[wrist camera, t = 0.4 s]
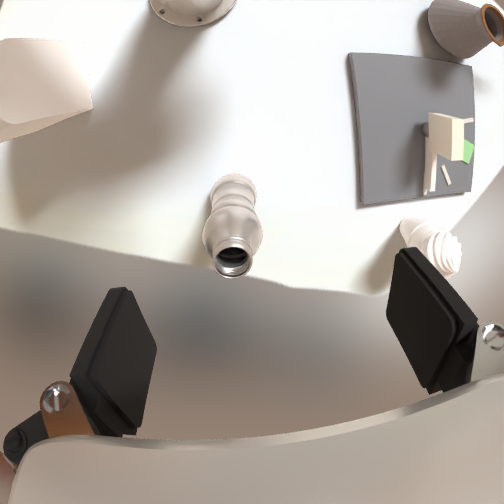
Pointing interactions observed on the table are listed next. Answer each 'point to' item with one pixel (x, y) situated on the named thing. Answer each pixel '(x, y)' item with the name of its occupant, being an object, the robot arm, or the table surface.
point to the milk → (41, 84)
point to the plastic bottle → (232, 226)
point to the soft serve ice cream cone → (432, 244)
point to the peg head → (441, 143)
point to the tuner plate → (408, 124)
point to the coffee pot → (465, 26)
